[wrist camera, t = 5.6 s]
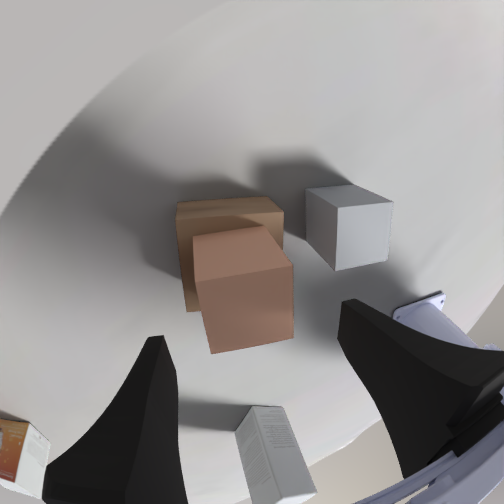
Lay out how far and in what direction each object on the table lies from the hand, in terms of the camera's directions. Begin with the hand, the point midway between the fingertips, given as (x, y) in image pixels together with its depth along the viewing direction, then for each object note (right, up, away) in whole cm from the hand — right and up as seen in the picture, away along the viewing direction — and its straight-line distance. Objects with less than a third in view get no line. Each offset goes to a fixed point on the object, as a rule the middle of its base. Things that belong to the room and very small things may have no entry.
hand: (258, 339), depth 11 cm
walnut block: (-2, +4, +9) cm, 11 cm away
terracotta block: (-1, +3, +6) cm, 7 cm away
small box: (-34, -23, +14) cm, 43 cm away
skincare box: (+1, -16, +19) cm, 25 cm away
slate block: (+6, +6, +10) cm, 13 cm away
